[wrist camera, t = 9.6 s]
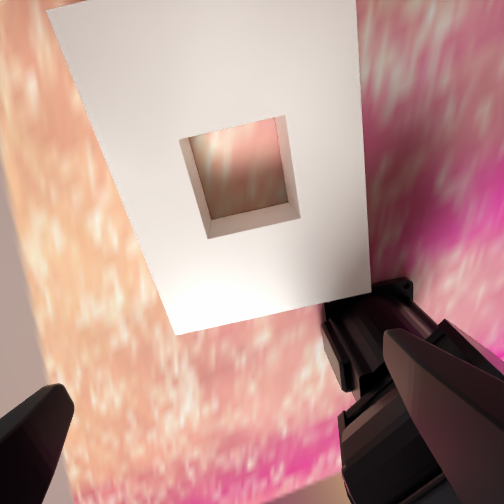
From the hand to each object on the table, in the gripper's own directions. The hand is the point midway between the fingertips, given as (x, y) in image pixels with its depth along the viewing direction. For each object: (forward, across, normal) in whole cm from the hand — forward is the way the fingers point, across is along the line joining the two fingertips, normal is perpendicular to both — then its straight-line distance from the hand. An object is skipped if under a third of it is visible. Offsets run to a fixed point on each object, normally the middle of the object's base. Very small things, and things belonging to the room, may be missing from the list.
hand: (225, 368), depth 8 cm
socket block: (+12, -1, -4) cm, 12 cm away
